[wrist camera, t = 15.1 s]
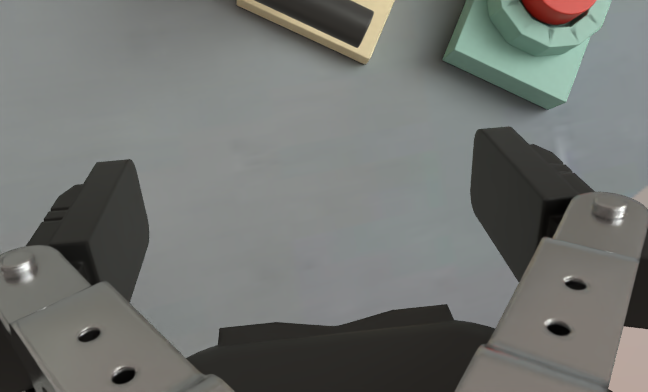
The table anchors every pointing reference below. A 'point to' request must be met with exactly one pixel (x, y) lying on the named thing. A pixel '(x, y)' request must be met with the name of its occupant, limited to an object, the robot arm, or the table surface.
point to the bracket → (379, 3)
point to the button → (557, 9)
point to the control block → (522, 48)
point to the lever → (328, 17)
